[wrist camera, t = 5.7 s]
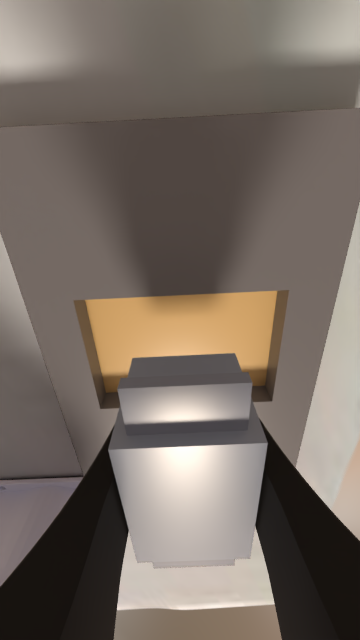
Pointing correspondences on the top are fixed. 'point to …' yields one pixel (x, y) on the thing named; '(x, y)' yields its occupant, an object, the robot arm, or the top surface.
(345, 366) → the top surface
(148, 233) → the plate
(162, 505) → the block
